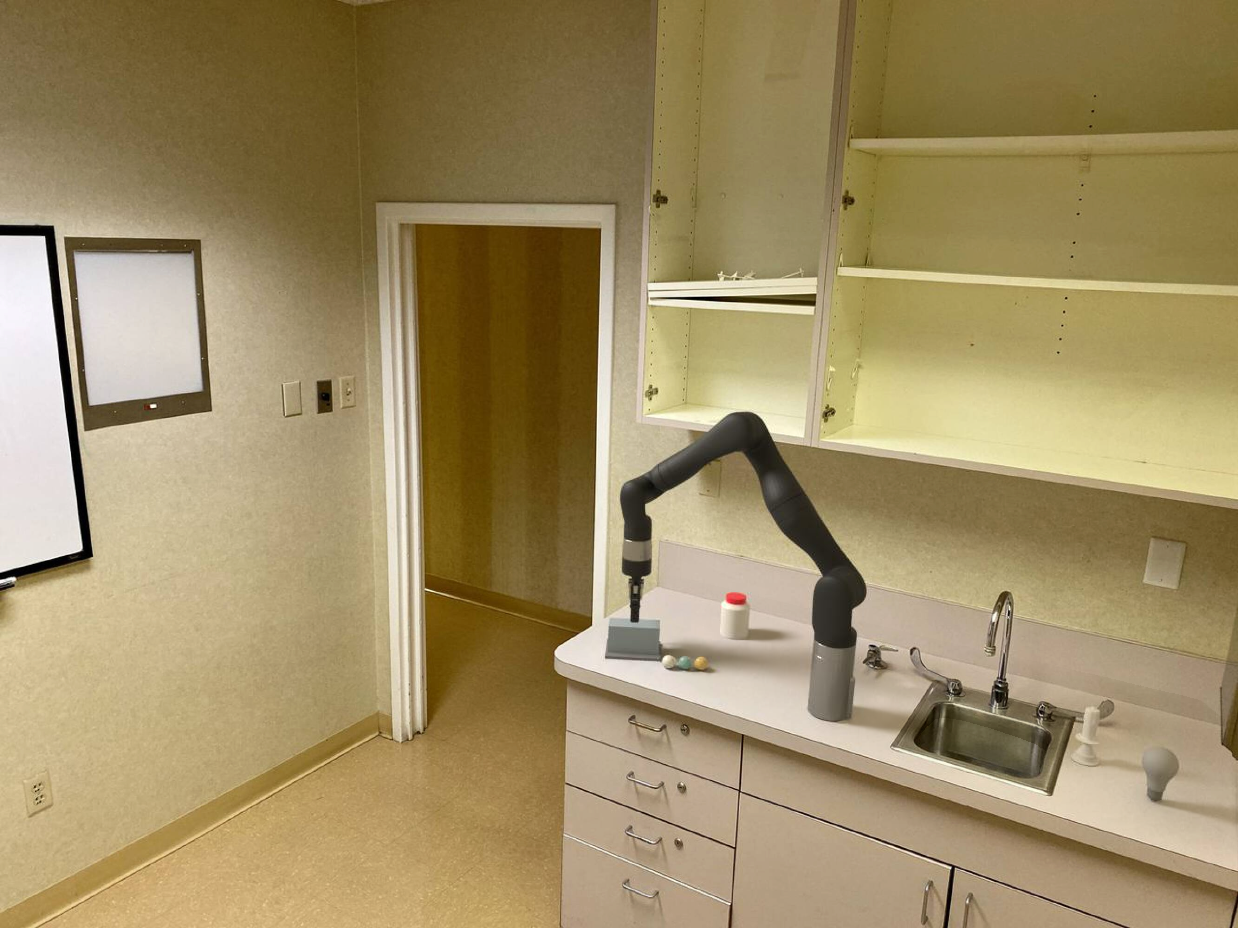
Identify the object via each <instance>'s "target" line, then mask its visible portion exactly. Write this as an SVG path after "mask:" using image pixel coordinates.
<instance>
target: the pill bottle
mask: <svg viewBox="0 0 1238 928" xmlns="http://www.w3.org/2000/svg"><path fill="white" fill-rule="evenodd" d="M750 610H751V605H750V603H748V601H747V595H746V594H744V593H741V592H732V591H731V592H727V593H726V595H725V599H724V600H723V601H722V602H721V604H720V619H719V634H720V636H721V637H723V638H725V639H727V640H736V641H737V640H743V639H744V640H745V639H746V638H747V637H748V636H749V625H750V623H749V622H750V614H751V612H750Z"/></svg>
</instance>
